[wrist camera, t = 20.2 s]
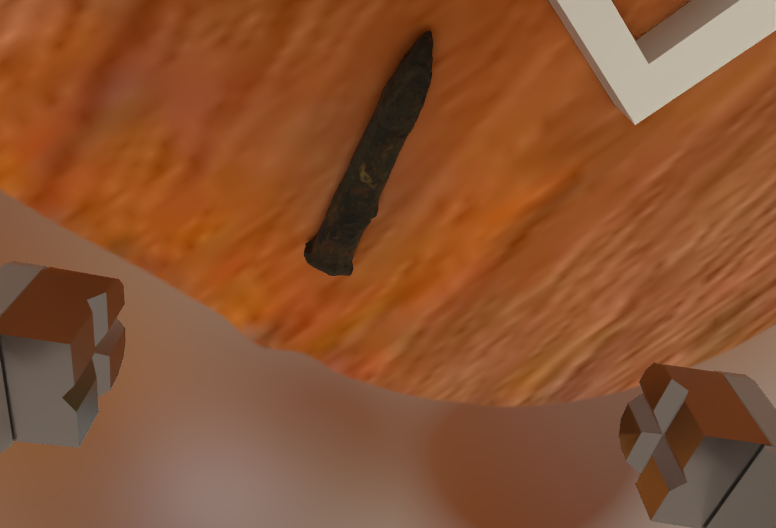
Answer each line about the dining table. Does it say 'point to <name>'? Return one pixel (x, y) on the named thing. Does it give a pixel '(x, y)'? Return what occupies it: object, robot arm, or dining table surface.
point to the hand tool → (372, 162)
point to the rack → (662, 47)
